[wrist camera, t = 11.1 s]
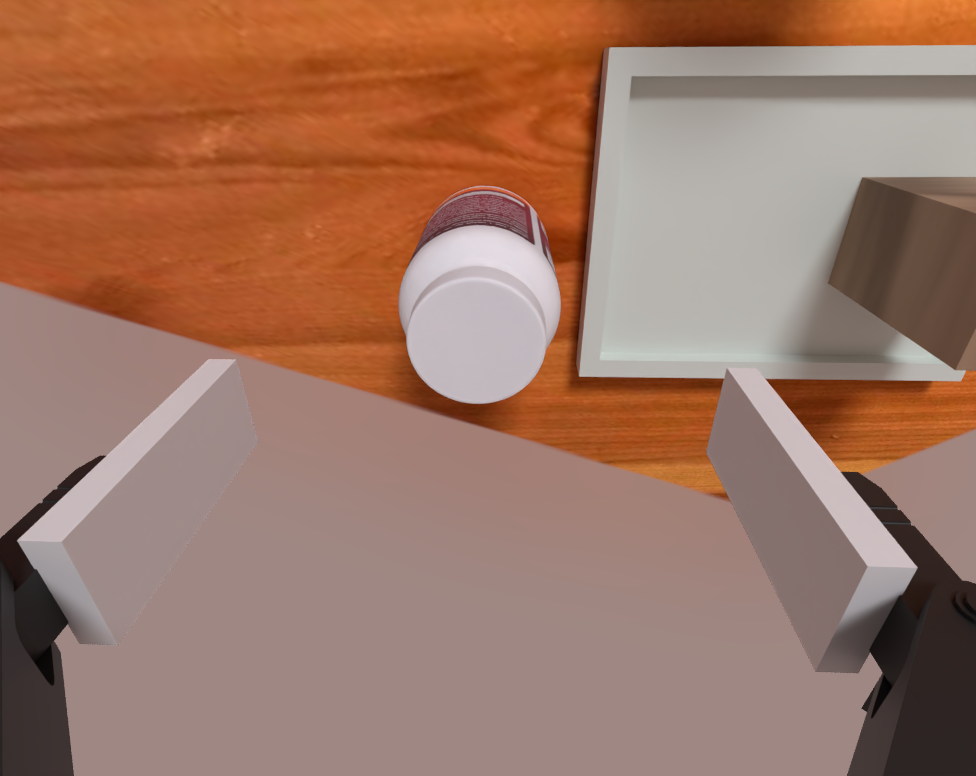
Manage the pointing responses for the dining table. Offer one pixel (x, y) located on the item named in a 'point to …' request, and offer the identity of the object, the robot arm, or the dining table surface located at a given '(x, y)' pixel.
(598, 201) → the tray
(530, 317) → the pill bottle
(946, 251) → the walnut block
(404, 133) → the dining table surface
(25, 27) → the dining table surface
